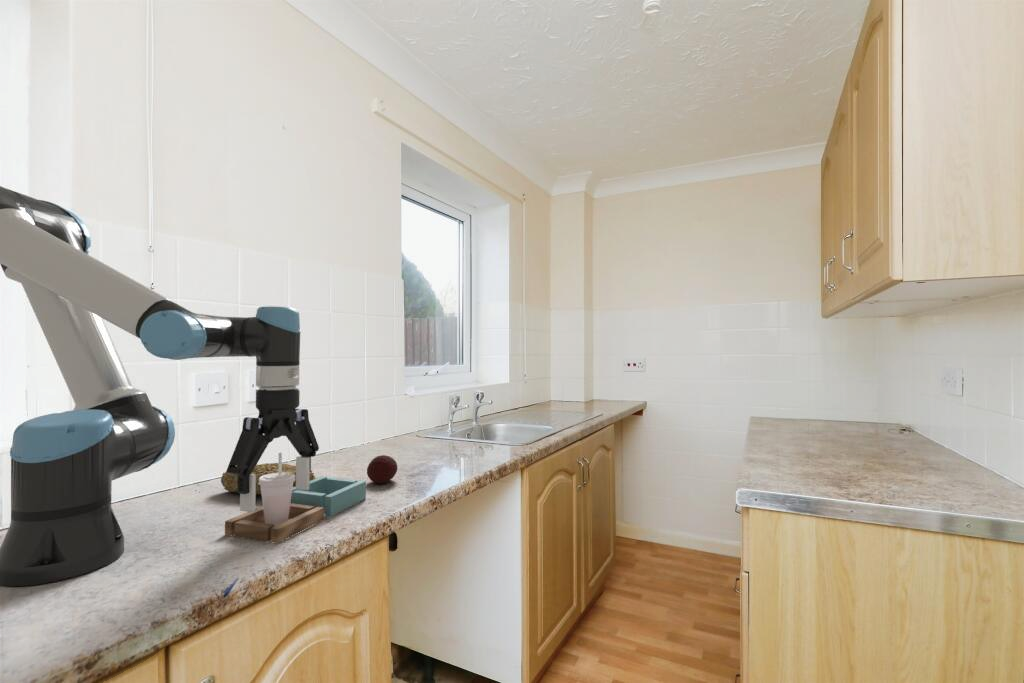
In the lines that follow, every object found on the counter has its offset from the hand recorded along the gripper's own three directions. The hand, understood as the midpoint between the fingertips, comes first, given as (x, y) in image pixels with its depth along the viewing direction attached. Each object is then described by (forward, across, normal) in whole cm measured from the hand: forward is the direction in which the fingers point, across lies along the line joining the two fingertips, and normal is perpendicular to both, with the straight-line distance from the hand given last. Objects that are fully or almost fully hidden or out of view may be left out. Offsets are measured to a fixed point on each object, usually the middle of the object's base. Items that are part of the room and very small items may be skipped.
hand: (277, 499), depth 92 cm
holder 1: (+5, 0, 0) cm, 5 cm away
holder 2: (+5, +14, 0) cm, 15 cm away
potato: (+6, +33, -2) cm, 34 cm away
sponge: (+6, +17, +18) cm, 26 cm away
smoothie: (+6, 0, 0) cm, 6 cm away
